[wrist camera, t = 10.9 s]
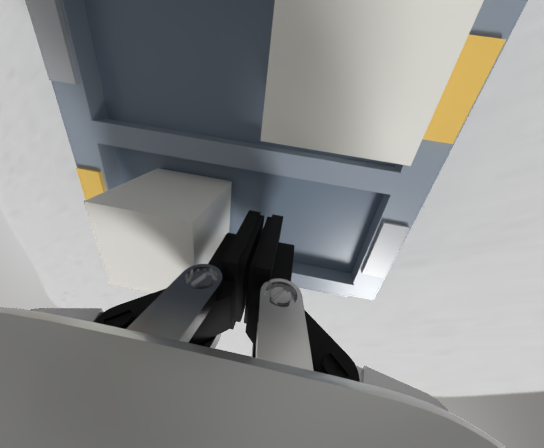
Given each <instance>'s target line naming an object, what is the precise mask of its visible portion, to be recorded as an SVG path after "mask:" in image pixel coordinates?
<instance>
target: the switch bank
mask: <svg viewBox="0 0 544 448" xmlns="http://www.w3.org/2000/svg"><path fill="white" fill-rule="evenodd" d="M25 1H26V4H27V7H28V11H29V14H30V17H31V21H32V24H33V27H34V31H35V34H36V37H37V40H38V44H39V47H40V50H41V54H42V57H43V60H44V64H45V67H46V70H47V74H48V77H49V80H51V82H52V85H53V89H54V92H55V95H56V99H57V102H58V105H59V109H60V112H61V115H62V119H63V122H64V125H65V129H66V132H67V135H68V139H69V142H70V145H71V149H72V152H73V155H74V159H75V162H76V165H77V168H76V169H77V173H78V176H79V179H80V183H81V186H82V189H83V192H84V196H85V199H86V200H88V199H90V198H92V197H95V196H97V195H99V194H101V193H103V192H106V191H108V190H110V189H112V188H115V187H117V186H119V185H121V184H124V183H126V182H128V181H130V180H132V179H135V178H137V177H139V176H141V175H144V174H146V173H148V172H150V171H152V170H155V169H157V168H160V169H166V170H172V171H177V172H183V173H188V174H194V175H199V176H205V177H210V178H216V179H222V180H227V181H232V185H231V207H230V228H229V233H233V234H237V232H238V230H239V228H240V226H241V224H242V222H243V221H244V219H245V217H246V215H247V213H248V211H249V210H252V211H257V212H261V215H263V216H264V224H263V228H264V225H265V222H266V219H267V217H272V214H274V215H279V216H283V222H282V228H281V234H280V240H279V242H281V243H286V244H292V245H294V257H293V267H292V277H291V282H292V283H294V284H295V285H296V286H297V287H299V288H304V289H309V290H314V291H318V292H323V293H328V294H333V295H338V296H343V297H348V298H349V296H355V297H360V298H365V299H369V300H374V299H375V297H376V295H377V293H378V291H379V289H380V287H381V285H382V283H383V281H384V279H385V277H386V275H387V273H388V271H389V270H390V268H391V266H392V264H393V262H394V260H395V258H396V256H397V254H398V252H399V250H400V248H401V246H402V244H403V242H404V240H405V238H406V236H407V235H408V233H409V231H410V229H411V227H412V225H413V223H414V221H415V219H416V217H417V215H418V213H419V211H420V209H421V207H422V205H423V203H424V201H425V199H426V198H427V196H428V194H429V192H430V190H431V188H432V186H433V184H434V182H435V180H436V178H437V176H438V174H439V172H440V170H441V168H442V166H443V164H444V162H445V161H446V159H447V157H448V155H449V153H450V151H451V149H452V147H453V145H454V143H455V141H456V139H457V137H458V135H459V133H460V131H461V129H462V127H463V125H464V124H465V122H466V120H467V118H468V116H469V114H470V112H471V110H472V108H473V106H474V104H475V102H476V100H477V98H478V96H479V94H480V92H481V90H482V88H483V87H484V85H485V83H486V81H487V79H488V77H489V75H490V73H491V71H492V69H493V67H494V65H495V63H496V61H497V59H498V57H499V55H500V53H501V51H502V50H503V48H504V46H505V44H506V42H507V40H508V38H509V36H510V34H511V32H512V30H513V28H514V26H515V24H516V22H517V20H518V18H519V16H520V14H521V13H522V11H523V9H524V7H525V5H526V3H527V1H528V0H484V1H483V4H482V6H481V8H480V10H479V13H478V15H477V17H476V19H475V22H474V24H473V26H472V28H471V31H470V33H469V35H468V37H467V40H466V42H465V44H464V47H463V49H462V51H461V53H460V56H459V58H458V60H457V62H456V65H455V67H454V69H453V71H452V74H451V76H450V78H449V80H448V83H447V85H446V87H445V89H444V92H443V94H442V96H441V99H440V101H439V103H438V105H437V108H436V110H435V112H434V114H433V117H432V119H431V121H430V123H429V126H428V128H427V130H426V132H425V135H424V137H423V139H422V141H421V144H420V146H419V148H418V150H417V153H416V155H415V157H414V160H413V162H412V164H411V166H407V165H401V164H395V163H389V162H383V161H377V160H371V159H365V158H359V157H353V156H347V155H341V154H335V153H329V152H323V151H317V150H311V149H306V148H300V147H294V146H288V145H282V144H276V143H270V142H264V141H260V140H261V130H262V120H263V110H264V101H265V91H266V81H267V71H268V62H269V52H270V42H271V32H272V23H273V13H274V3H275V0H25Z"/></svg>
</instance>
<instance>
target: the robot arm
mask: <svg viewBox="0 0 544 448" xmlns="http://www.w3.org/2000/svg"><path fill="white" fill-rule="evenodd" d="M282 222H283V216H279V215H274V214H272V217H267V219H266V222H265V225H264V228H263V224H264V216H263V215H261V212H257V211H252V210H249V211H248V213H247V215H246V217H245V219H244V221H243V222H242V224H241V226H240V228H239V230H238V232H237V234H233V233H227V234H226V235H225V237H224V239H223V240H222V242H221V243H220V245H219V247H218V248H217V250H216V252H215V253H214V255H213V256H212V258H211V260H210V261H209V263H208V264H198V265H193V266H191V267H189V268H187V269H186V270H185V271H183V272H182V273H181V274H180V275H179V276H178V277H177V278H176V279H175V280H174V281H173V282H172V283H171V284H170V285H169V286H168V287H167V288H166V289H163V290H160V291H157V292H155V293H152V294H149V295H146V296H143V297H140V298H137V299H135V300H132V301H129V302H126V303H123V304H120V305H117V306H115V307H113V308H111V309H108V310H107V311H105V312H103V311H102V309H100V308H39V309H31V310H24V309H17V308H2V307H0V448H507V447H505V446H504V445H503V444H501V443H500V442H498V441H497V440H496V439H494V438H493V437H491V436H490V435H488V434H487V433H485V432H484V431H482V430H480V429H479V428H477V427H475V426H474V425H472V424H470V423H469V422H467V421H465V420H463V419H462V418H460V417H458V416H456V415H454V414H452V413H450V412H449V411H448V410H447V409H446V408H445V407H444V406H443V405H442V404H441V403H440V402H439V401H438V400H437V399H435V398H434V397H432V396H430V395H429V394H427V393H425V392H422V391H420V390H418V389H416V388H413V387H411V386H409V385H407V384H404V383H402V382H400V381H398V380H395V379H393V378H391V377H389V376H387V375H384V374H382V373H380V372H378V371H375V370H373V369H371V368H369V367H366V366H364V367H363V369H362V368H360V367H358V366H356V365H355V363H354V362H353V361H352V359H351V358H350V357H349V356H348V355H347V354H346V353H345V352H344V351H343V349H342V348H341V347H340V346H339V345H338V344H337V343H336V342H335V341H334V340H333V339H332V338H331V337H330V336H329V335H328V334H327V333H326V332H325V331H324V330H323V329H322V328H321V327H320V326H319V325H318V324H317V322H316V321H315V320H314V319H313V318H312V317H311V316H310V315H309V314H308V313H307V312H306V311H305V310H304V306H303V299H302V294H301V291H300V289H299V288H298V287H297V286H296V285H295V284H294V283H292V282H291V277H292V267H293V257H294V245H292V244H286V243H281V242H279V240H280V234H281V228H282ZM245 306H246V308H245ZM244 309H245V317H244V323H247V325H246V334H247V335H248V337H249V338H250V340H251V341H252V343H253V346H252V357H250V356H245V355H241V354H236V353H232V352H227V351H223V350H218V349H215V347H216V345H217V343H218V341H219V339H220V336H221V333H222V332H224V331H226V330H228V329H233V328H234V325H235V322H236V321H237V322H240V321H241V319H242V315H243V312H244Z"/></svg>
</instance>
